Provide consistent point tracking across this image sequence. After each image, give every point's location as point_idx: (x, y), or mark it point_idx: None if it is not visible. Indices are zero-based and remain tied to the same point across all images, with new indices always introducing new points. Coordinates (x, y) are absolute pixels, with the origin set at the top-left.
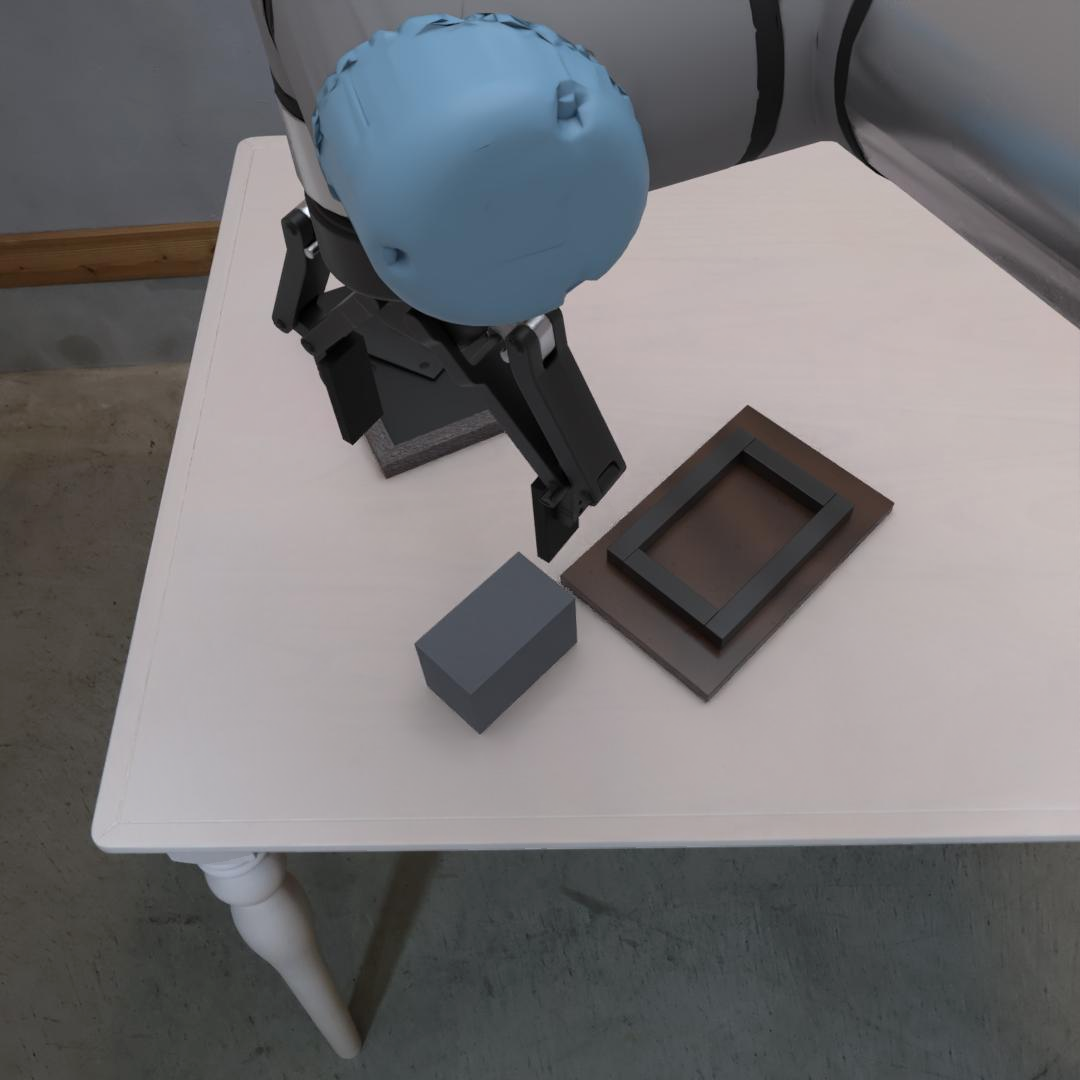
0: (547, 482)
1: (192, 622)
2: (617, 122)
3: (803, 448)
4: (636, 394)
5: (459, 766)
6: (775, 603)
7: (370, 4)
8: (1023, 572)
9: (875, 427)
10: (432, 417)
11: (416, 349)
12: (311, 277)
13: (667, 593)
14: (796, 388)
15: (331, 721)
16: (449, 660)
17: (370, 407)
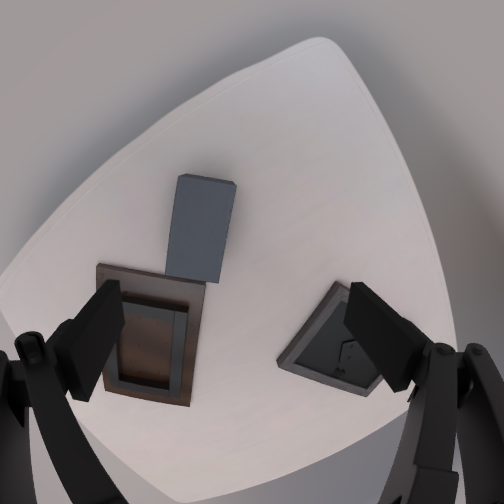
0: (41, 360)
1: (374, 146)
2: None
3: (152, 399)
4: (242, 388)
5: (184, 151)
6: None
7: None
8: None
9: (140, 414)
10: (332, 325)
11: (359, 350)
12: (489, 448)
13: (141, 306)
14: (180, 418)
15: (268, 132)
16: (206, 188)
17: (355, 323)
